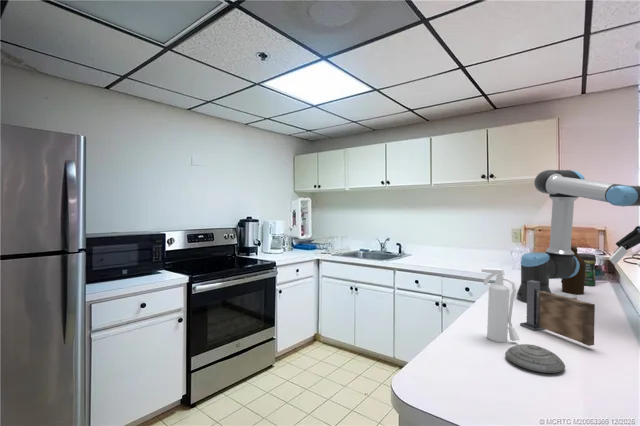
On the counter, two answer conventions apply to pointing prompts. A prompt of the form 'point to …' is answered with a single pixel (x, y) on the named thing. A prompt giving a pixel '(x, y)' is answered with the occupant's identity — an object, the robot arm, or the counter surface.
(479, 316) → the counter surface
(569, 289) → the olive oil
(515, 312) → the counter surface
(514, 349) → the flying saucer
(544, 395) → the counter surface
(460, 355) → the counter surface
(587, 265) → the coffee jar
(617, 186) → the robot arm
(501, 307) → the fire extinguisher
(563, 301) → the gate
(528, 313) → the gate post
